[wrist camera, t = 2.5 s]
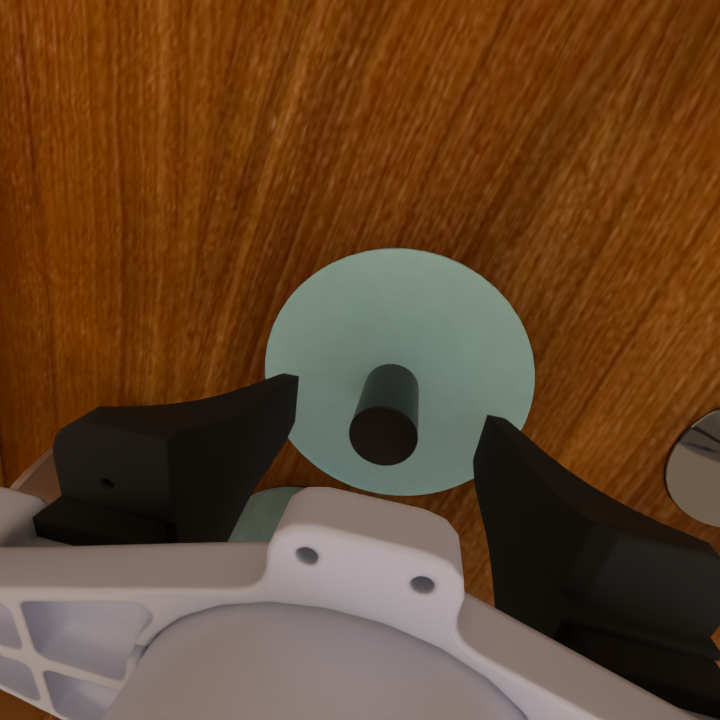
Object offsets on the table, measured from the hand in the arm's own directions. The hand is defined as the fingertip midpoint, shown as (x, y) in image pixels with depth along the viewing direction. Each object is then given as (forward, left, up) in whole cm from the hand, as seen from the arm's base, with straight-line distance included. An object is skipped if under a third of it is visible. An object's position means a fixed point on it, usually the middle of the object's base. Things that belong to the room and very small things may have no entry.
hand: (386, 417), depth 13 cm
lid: (0, 0, -3) cm, 3 cm away
